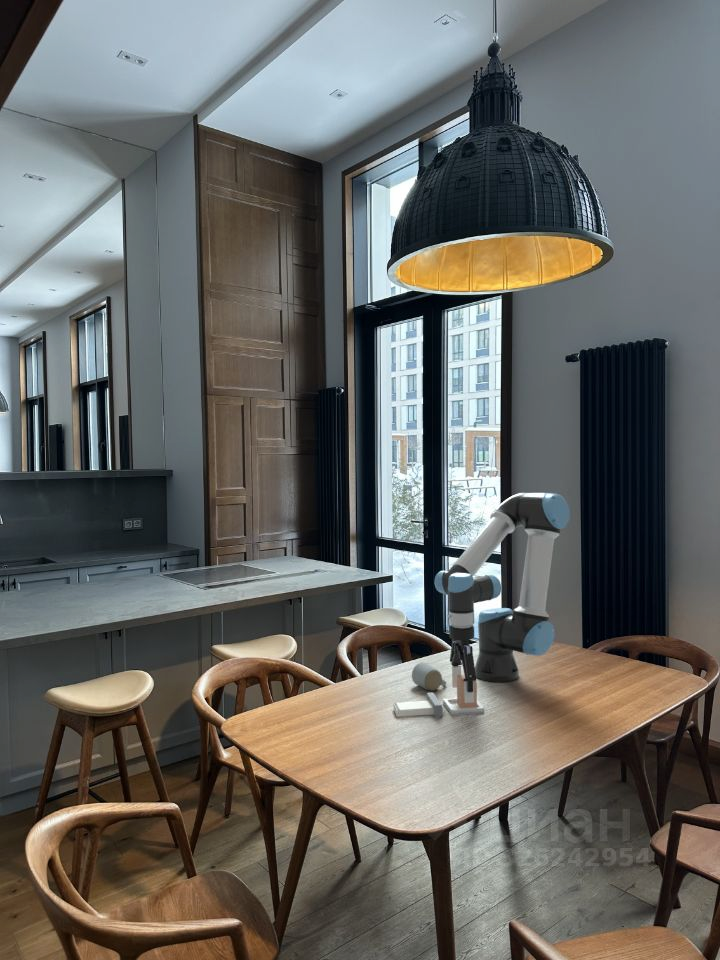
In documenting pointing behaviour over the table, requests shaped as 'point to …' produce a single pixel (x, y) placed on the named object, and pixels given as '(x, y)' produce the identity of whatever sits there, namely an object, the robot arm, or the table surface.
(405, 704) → the white grey t-shaped block
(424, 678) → the ceramic mug
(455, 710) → the stub tray
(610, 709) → the table surface
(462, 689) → the stub
